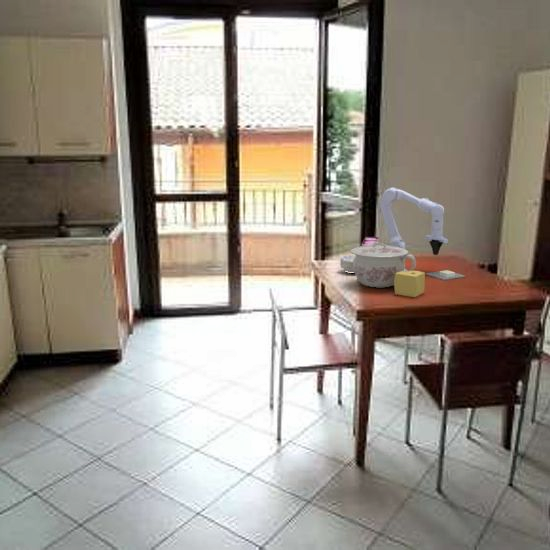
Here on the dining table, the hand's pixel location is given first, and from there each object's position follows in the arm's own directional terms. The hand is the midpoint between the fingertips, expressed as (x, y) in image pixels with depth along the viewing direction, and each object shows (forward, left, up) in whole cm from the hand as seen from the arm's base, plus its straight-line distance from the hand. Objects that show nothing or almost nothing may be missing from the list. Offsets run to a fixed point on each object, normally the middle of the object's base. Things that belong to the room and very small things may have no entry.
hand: (435, 254), depth 285 cm
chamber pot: (-39, -5, -10) cm, 41 cm away
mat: (+1, -7, -10) cm, 12 cm away
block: (0, -6, -8) cm, 10 cm away
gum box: (-17, +35, -10) cm, 40 cm away
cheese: (-36, -25, -10) cm, 45 cm away
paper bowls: (-35, +22, -10) cm, 43 cm away
